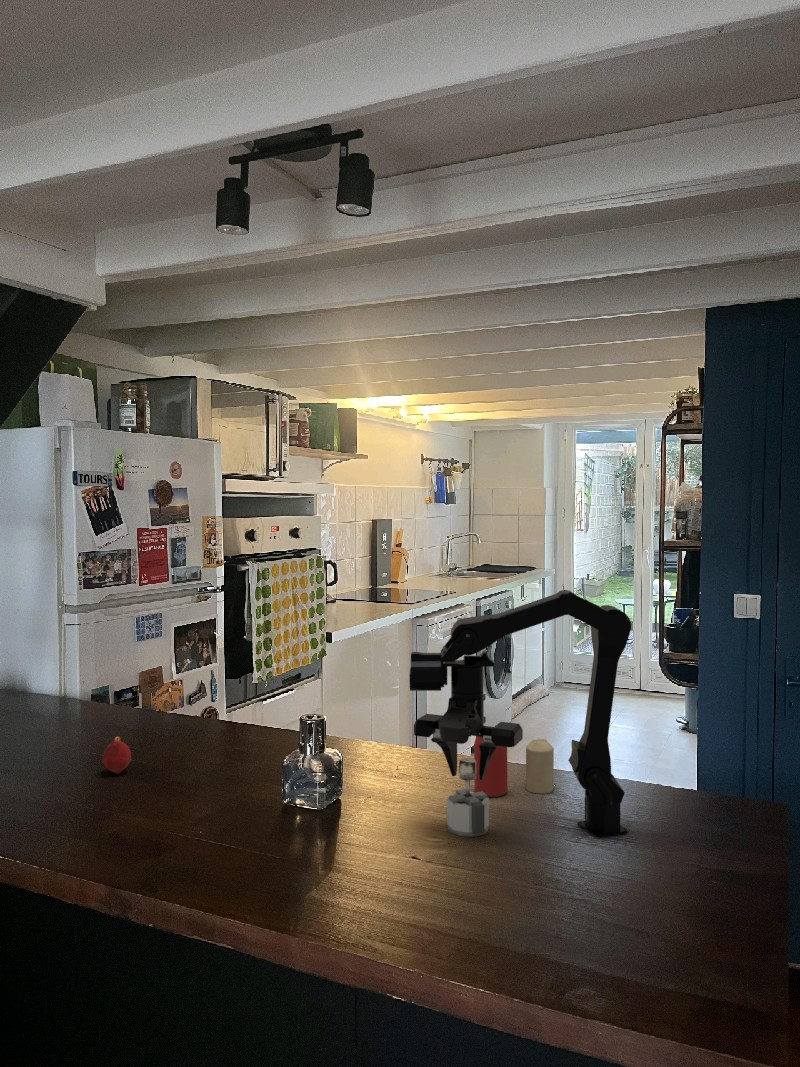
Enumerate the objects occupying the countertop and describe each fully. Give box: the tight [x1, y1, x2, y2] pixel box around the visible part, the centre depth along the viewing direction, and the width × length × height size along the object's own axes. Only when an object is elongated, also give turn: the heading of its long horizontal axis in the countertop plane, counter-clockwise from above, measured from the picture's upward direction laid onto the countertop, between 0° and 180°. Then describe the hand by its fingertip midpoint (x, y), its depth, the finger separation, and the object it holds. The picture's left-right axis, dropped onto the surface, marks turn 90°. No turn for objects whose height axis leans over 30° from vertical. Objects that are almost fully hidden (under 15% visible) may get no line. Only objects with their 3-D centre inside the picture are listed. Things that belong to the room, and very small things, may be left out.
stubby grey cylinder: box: [457, 758, 481, 805], centre depth 146 cm, size 5×5×8 cm
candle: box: [525, 738, 555, 795], centre depth 166 cm, size 6×6×10 cm
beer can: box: [473, 736, 508, 798], centre depth 164 cm, size 7×7×12 cm
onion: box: [102, 736, 132, 775], centre depth 178 cm, size 6×6×8 cm
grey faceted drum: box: [446, 788, 490, 838], centre depth 146 cm, size 8×7×6 cm
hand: (467, 777), depth 146 cm, fingers open, 5 cm apart
